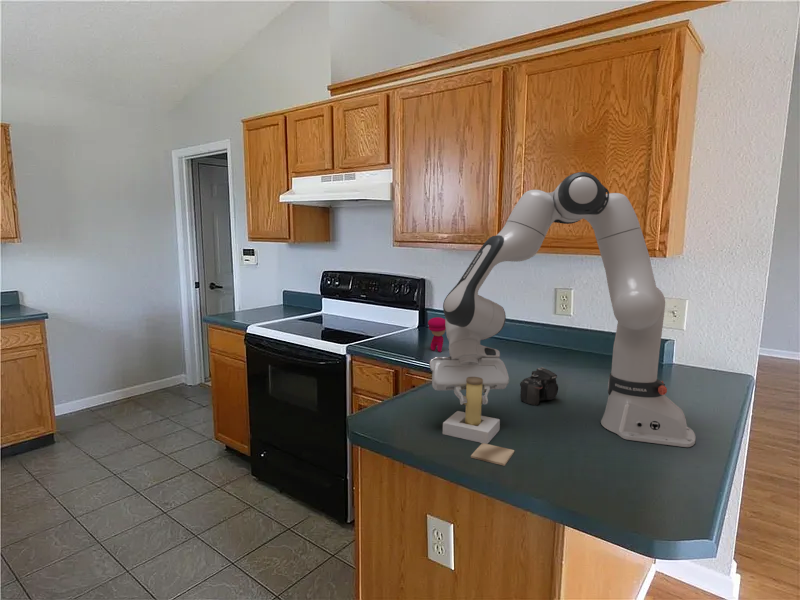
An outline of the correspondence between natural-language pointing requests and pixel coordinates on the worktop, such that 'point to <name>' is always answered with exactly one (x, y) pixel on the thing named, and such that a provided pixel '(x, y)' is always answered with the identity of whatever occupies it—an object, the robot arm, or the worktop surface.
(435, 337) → the toy
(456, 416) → the socket block
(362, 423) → the worktop surface
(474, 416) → the plug
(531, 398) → the camera
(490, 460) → the mat
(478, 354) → the robot arm
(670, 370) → the worktop surface
